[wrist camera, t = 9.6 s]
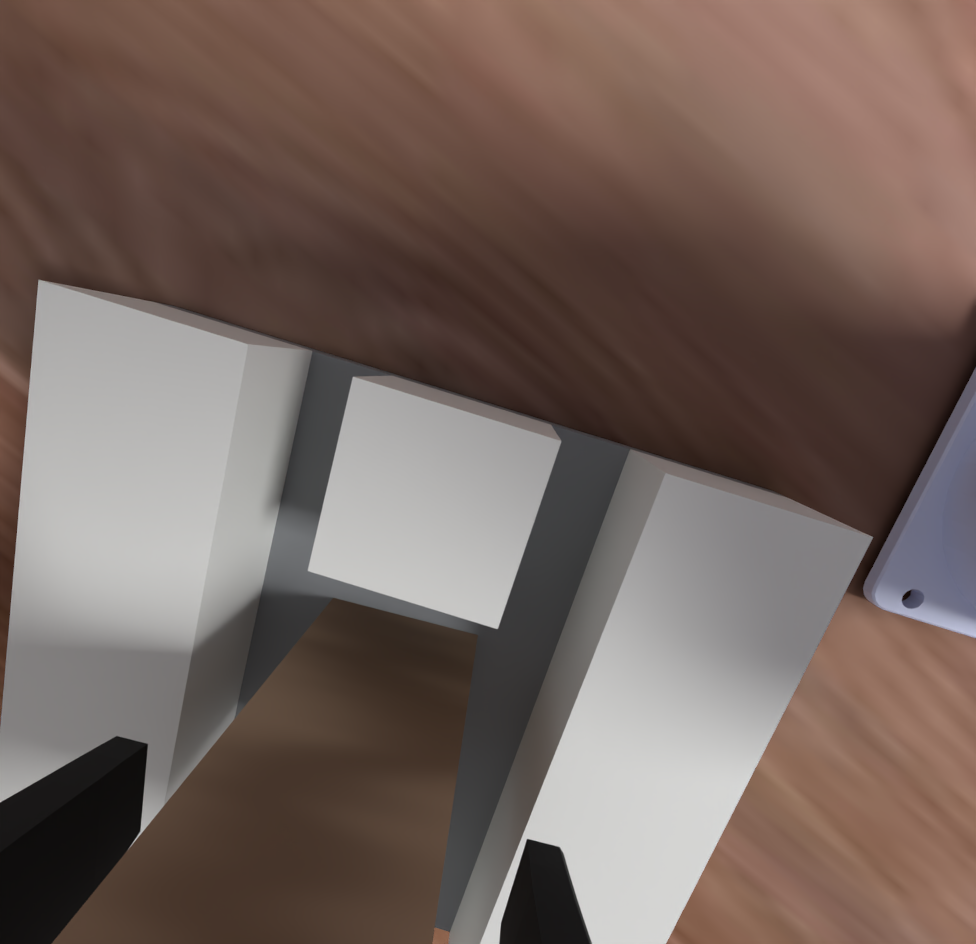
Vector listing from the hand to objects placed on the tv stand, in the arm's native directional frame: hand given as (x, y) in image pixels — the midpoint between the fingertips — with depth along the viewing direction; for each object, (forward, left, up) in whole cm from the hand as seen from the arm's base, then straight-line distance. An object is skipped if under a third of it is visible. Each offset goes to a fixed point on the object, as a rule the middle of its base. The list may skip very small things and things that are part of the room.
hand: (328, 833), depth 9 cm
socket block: (0, 0, -5) cm, 5 cm away
